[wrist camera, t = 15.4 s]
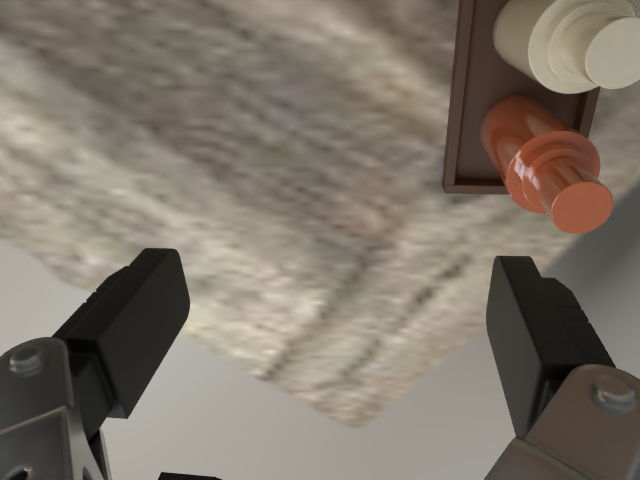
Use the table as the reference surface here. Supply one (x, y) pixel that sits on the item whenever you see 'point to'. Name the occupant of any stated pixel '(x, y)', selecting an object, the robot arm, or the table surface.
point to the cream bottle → (571, 42)
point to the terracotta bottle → (545, 164)
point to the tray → (492, 100)
